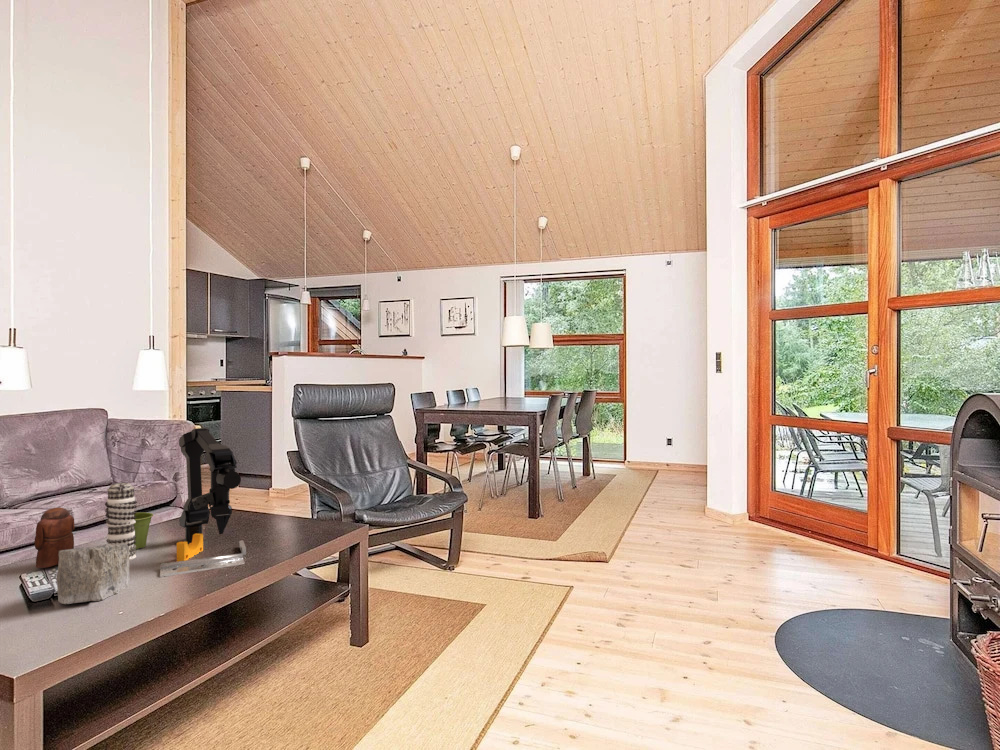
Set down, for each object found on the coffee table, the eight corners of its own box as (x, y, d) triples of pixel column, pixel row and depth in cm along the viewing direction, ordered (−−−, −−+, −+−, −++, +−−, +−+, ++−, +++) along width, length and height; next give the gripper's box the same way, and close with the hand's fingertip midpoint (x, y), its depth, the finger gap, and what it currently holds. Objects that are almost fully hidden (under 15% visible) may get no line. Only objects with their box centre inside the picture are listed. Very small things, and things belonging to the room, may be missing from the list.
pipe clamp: (190, 552, 214) (190, 533, 214) (203, 552, 214) (203, 533, 214) (171, 562, 202) (171, 543, 202) (184, 562, 202) (184, 543, 202)
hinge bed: (161, 558, 205) (161, 550, 205) (243, 548, 217) (243, 540, 217) (159, 577, 187) (159, 567, 187) (248, 564, 199) (248, 555, 199)
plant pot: (118, 554, 210) (118, 521, 210) (111, 547, 219) (111, 515, 219) (156, 548, 218) (156, 516, 218) (149, 541, 227) (149, 510, 227)
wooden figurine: (58, 557, 207) (58, 504, 207) (76, 557, 206) (76, 504, 206) (29, 568, 195) (29, 512, 195) (48, 569, 195) (48, 512, 195)
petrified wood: (120, 578, 186) (119, 528, 186) (143, 590, 175) (142, 538, 175) (45, 595, 172) (45, 542, 172) (65, 610, 161) (65, 553, 161)
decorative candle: (118, 563, 200) (118, 487, 200) (98, 561, 203) (98, 485, 203) (143, 556, 208) (143, 482, 208) (123, 553, 212) (123, 480, 211)
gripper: (192, 482, 213) (193, 527, 213) (194, 491, 197) (194, 540, 197) (227, 480, 219) (228, 523, 219) (231, 488, 202) (232, 536, 202)
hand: (220, 530), depth 209 cm, fingers open, 9 cm apart
